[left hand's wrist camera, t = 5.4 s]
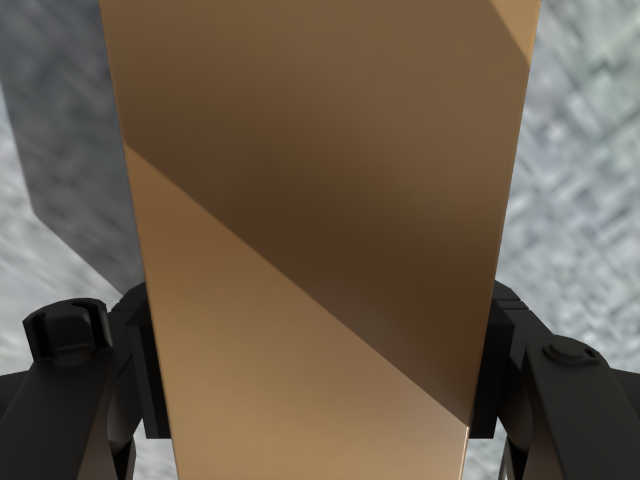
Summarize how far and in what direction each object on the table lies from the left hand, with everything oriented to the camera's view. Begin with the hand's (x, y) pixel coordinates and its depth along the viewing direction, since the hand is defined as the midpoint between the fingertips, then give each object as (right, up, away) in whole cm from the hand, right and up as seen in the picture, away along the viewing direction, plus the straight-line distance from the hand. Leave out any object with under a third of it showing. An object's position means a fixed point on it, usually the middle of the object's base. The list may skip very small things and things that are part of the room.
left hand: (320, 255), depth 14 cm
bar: (0, +31, -11) cm, 33 cm away
